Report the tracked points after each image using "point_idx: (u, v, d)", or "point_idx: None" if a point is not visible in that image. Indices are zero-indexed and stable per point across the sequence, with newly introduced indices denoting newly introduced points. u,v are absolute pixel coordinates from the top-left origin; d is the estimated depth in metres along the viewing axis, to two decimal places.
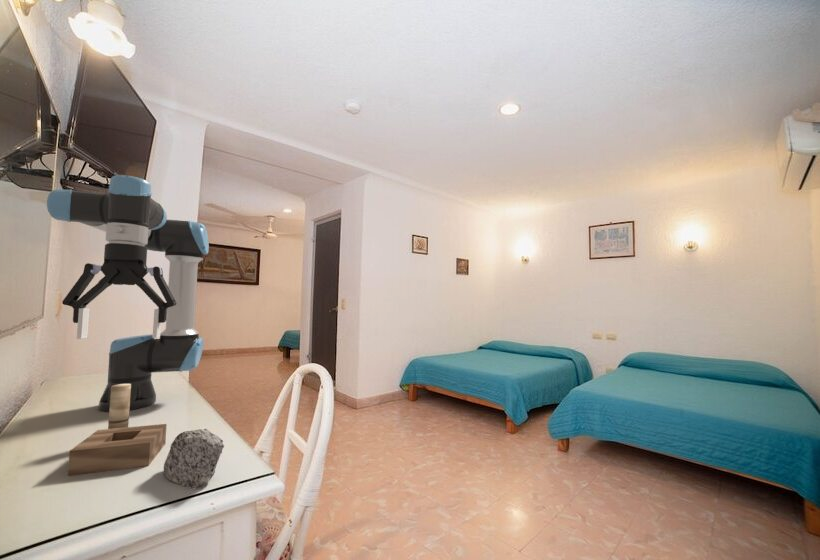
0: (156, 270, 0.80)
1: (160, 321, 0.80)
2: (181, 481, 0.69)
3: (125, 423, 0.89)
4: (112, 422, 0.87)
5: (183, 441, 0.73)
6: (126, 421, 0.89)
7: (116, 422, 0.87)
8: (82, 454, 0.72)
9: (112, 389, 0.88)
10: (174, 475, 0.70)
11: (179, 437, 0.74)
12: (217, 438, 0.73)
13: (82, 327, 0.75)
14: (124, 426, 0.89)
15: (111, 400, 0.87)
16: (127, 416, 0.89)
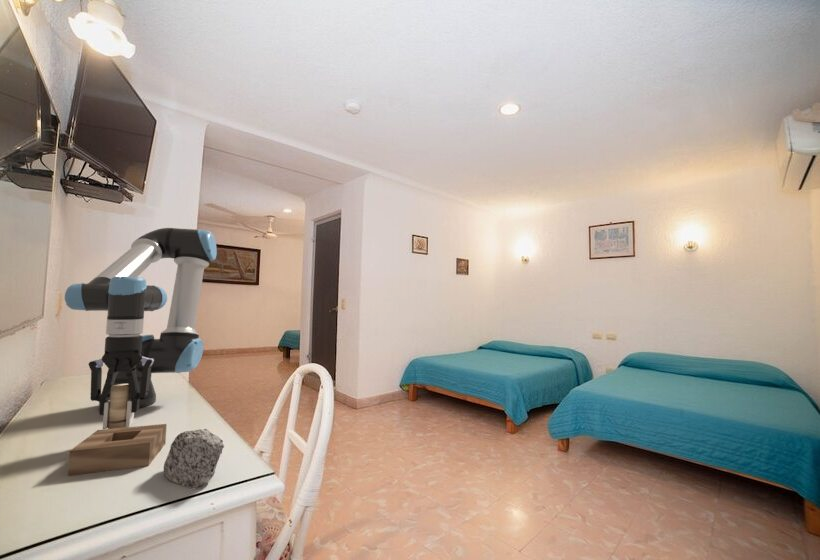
0: (148, 363, 0.91)
1: (133, 411, 0.90)
2: (181, 481, 0.69)
3: (125, 423, 0.89)
4: (112, 422, 0.87)
5: (183, 441, 0.73)
6: None
7: (116, 422, 0.87)
8: (82, 454, 0.72)
9: (112, 389, 0.88)
10: (174, 475, 0.70)
11: (179, 438, 0.74)
12: (217, 438, 0.73)
13: (107, 418, 0.87)
14: (124, 426, 0.89)
15: (111, 400, 0.87)
16: None
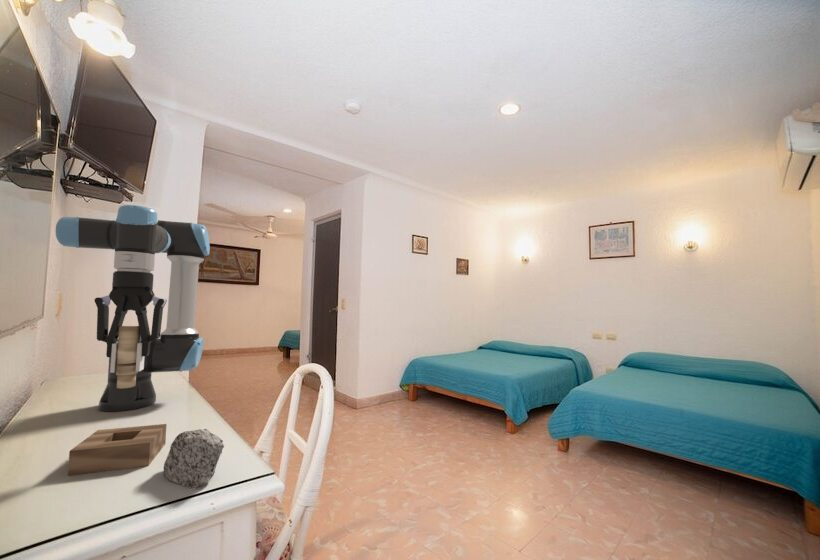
0: (160, 302, 0.82)
1: (143, 355, 0.81)
2: (181, 481, 0.69)
3: (135, 367, 0.80)
4: (120, 365, 0.78)
5: (183, 441, 0.73)
6: None
7: (125, 365, 0.79)
8: (82, 454, 0.72)
9: (120, 329, 0.79)
10: (174, 475, 0.70)
11: (179, 438, 0.74)
12: (217, 438, 0.73)
13: (115, 361, 0.79)
14: (134, 370, 0.80)
15: (119, 341, 0.79)
16: None
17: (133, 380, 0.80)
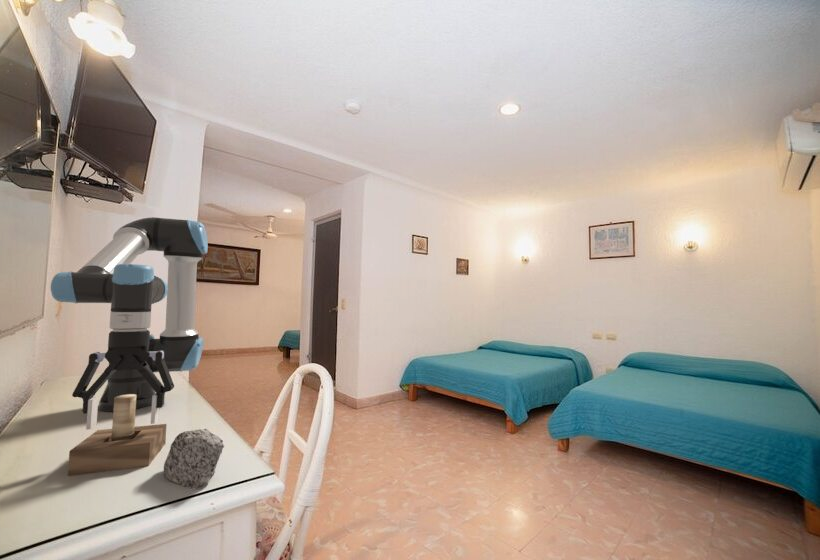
0: (158, 355, 0.82)
1: (158, 406, 0.82)
2: (181, 481, 0.69)
3: (130, 438, 0.79)
4: (115, 438, 0.78)
5: (183, 441, 0.73)
6: (131, 436, 0.80)
7: (120, 438, 0.78)
8: (82, 454, 0.72)
9: (115, 401, 0.78)
10: (174, 475, 0.70)
11: (179, 438, 0.74)
12: (217, 438, 0.73)
13: (91, 417, 0.77)
14: None
15: (114, 414, 0.78)
16: (132, 431, 0.80)
17: None
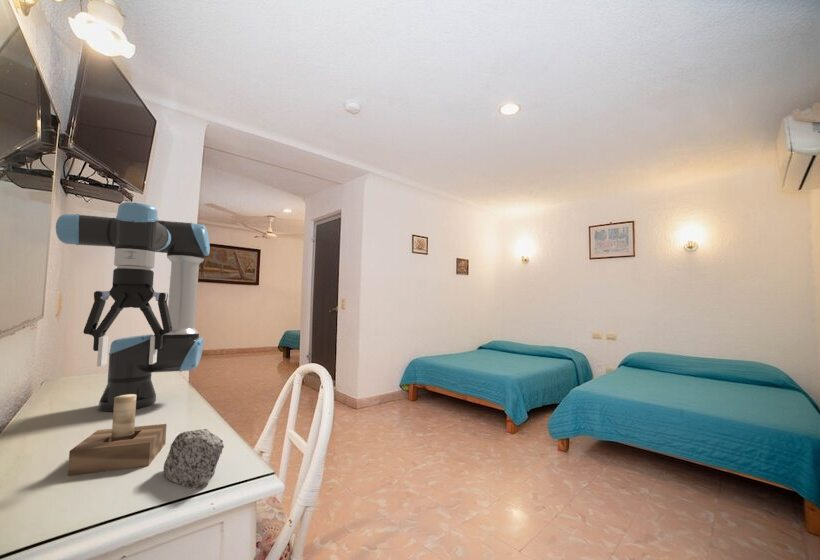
0: (162, 296, 0.83)
1: (156, 348, 0.82)
2: (181, 481, 0.69)
3: (130, 438, 0.79)
4: (115, 438, 0.78)
5: (183, 441, 0.73)
6: (131, 436, 0.80)
7: (120, 438, 0.78)
8: (82, 454, 0.72)
9: (115, 401, 0.78)
10: (174, 475, 0.70)
11: (179, 438, 0.74)
12: (217, 438, 0.73)
13: (102, 355, 0.78)
14: None
15: (114, 414, 0.78)
16: (132, 431, 0.80)
17: None
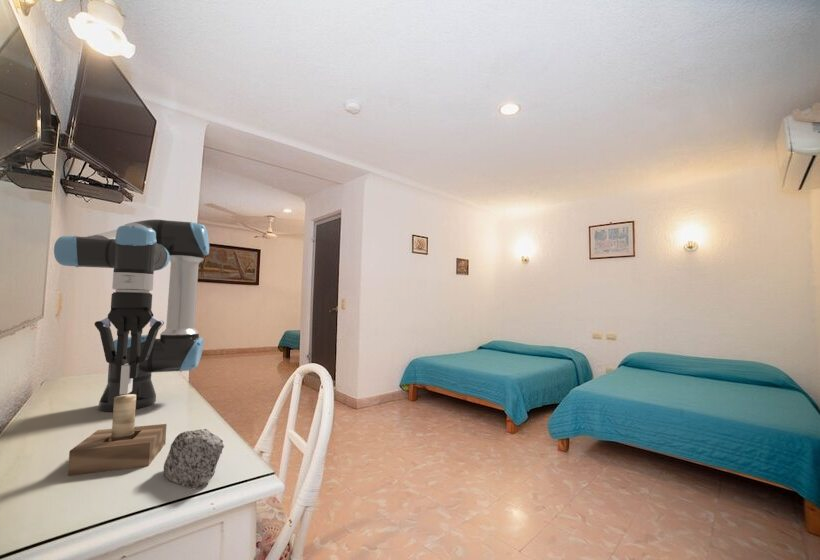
0: (157, 325, 0.82)
1: (131, 377, 0.80)
2: (181, 481, 0.69)
3: (130, 438, 0.79)
4: (115, 438, 0.78)
5: (183, 441, 0.73)
6: (131, 436, 0.80)
7: (120, 438, 0.78)
8: (82, 454, 0.72)
9: (115, 401, 0.78)
10: (174, 475, 0.70)
11: (179, 438, 0.74)
12: (217, 438, 0.73)
13: (124, 383, 0.79)
14: None
15: (114, 414, 0.78)
16: (132, 431, 0.80)
17: None
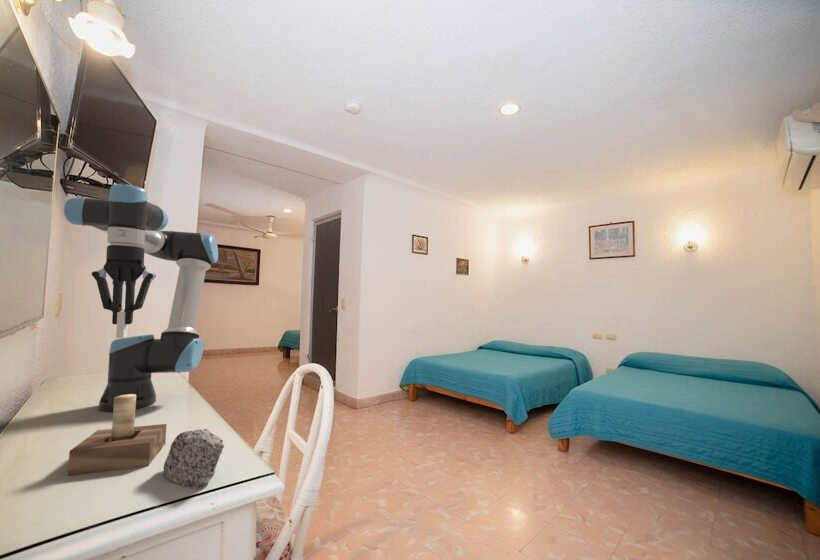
0: (149, 276, 0.90)
1: (127, 323, 0.88)
2: (181, 481, 0.69)
3: (130, 438, 0.79)
4: (115, 438, 0.78)
5: (183, 441, 0.73)
6: (131, 436, 0.80)
7: (120, 438, 0.78)
8: (82, 454, 0.72)
9: (115, 401, 0.78)
10: (174, 475, 0.70)
11: (179, 438, 0.74)
12: (217, 438, 0.73)
13: (120, 328, 0.88)
14: None
15: (114, 414, 0.78)
16: (132, 431, 0.80)
17: None
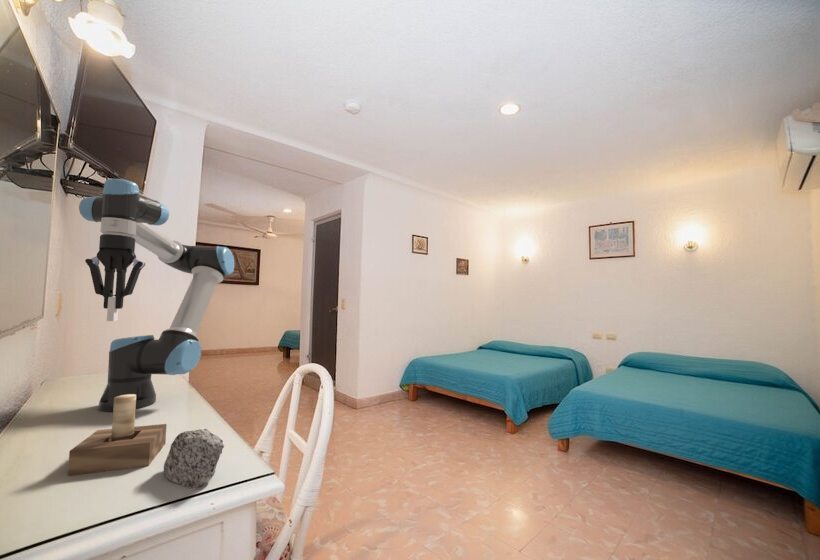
0: (139, 264, 0.96)
1: (117, 307, 0.94)
2: (181, 481, 0.69)
3: (130, 438, 0.79)
4: (115, 438, 0.78)
5: (183, 441, 0.73)
6: (131, 436, 0.80)
7: (120, 438, 0.78)
8: (82, 454, 0.72)
9: (115, 401, 0.78)
10: (174, 475, 0.70)
11: (179, 438, 0.74)
12: (217, 438, 0.73)
13: (111, 312, 0.93)
14: None
15: (114, 414, 0.78)
16: (132, 431, 0.80)
17: None
